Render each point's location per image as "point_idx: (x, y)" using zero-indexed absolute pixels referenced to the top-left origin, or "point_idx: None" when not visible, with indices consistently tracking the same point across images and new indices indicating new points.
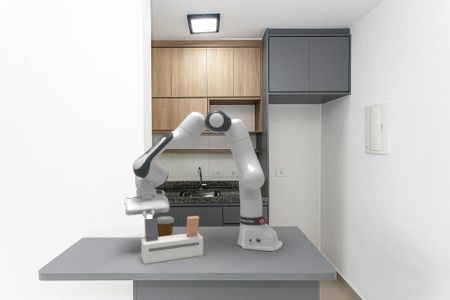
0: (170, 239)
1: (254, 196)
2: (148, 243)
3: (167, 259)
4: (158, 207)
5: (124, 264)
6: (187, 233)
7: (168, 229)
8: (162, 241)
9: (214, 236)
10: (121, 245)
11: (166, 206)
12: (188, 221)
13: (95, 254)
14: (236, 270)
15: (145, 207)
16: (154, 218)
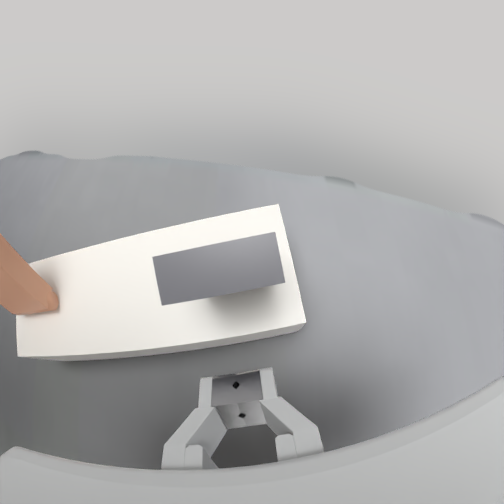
0: (133, 269)
1: None
2: (254, 222)
3: None
4: (90, 477)
5: (356, 254)
6: (47, 284)
7: None
8: (177, 242)
9: None
10: None
11: (16, 460)
12: (1, 236)
13: (479, 384)
14: (47, 164)
15: (288, 497)
16: (176, 252)
